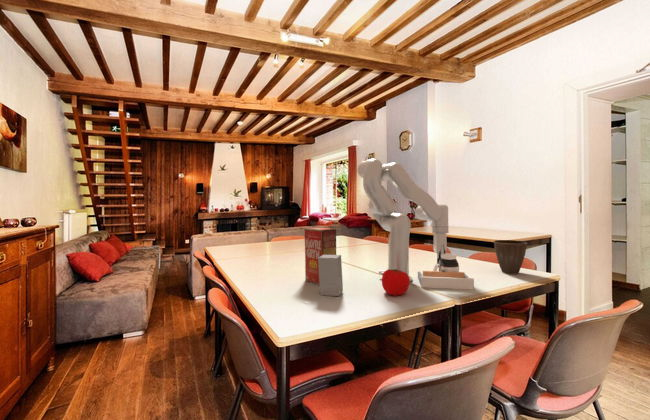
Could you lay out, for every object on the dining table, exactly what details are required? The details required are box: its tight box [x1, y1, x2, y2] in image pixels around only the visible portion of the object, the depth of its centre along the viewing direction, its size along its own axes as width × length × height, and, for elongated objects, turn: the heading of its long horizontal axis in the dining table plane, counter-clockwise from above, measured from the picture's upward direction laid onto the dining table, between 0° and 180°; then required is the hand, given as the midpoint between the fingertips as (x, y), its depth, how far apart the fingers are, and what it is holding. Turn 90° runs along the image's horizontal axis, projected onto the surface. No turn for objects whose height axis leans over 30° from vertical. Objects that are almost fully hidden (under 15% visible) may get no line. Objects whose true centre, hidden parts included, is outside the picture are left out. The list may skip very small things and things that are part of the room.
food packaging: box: [304, 226, 337, 285], centre depth 151 cm, size 13×9×25 cm
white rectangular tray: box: [417, 271, 475, 291], centre depth 146 cm, size 21×17×4 cm
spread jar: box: [432, 252, 460, 272], centre depth 153 cm, size 12×11×12 cm
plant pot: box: [493, 239, 528, 275], centre depth 166 cm, size 15×15×16 cm
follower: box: [422, 270, 466, 278], centre depth 147 cm, size 18×2×6 cm, turn 79°
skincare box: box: [318, 254, 344, 297], centre depth 131 cm, size 8×7×16 cm
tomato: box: [381, 269, 411, 297], centre depth 131 cm, size 11×13×10 cm
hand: (440, 266), depth 159 cm, fingers closed
